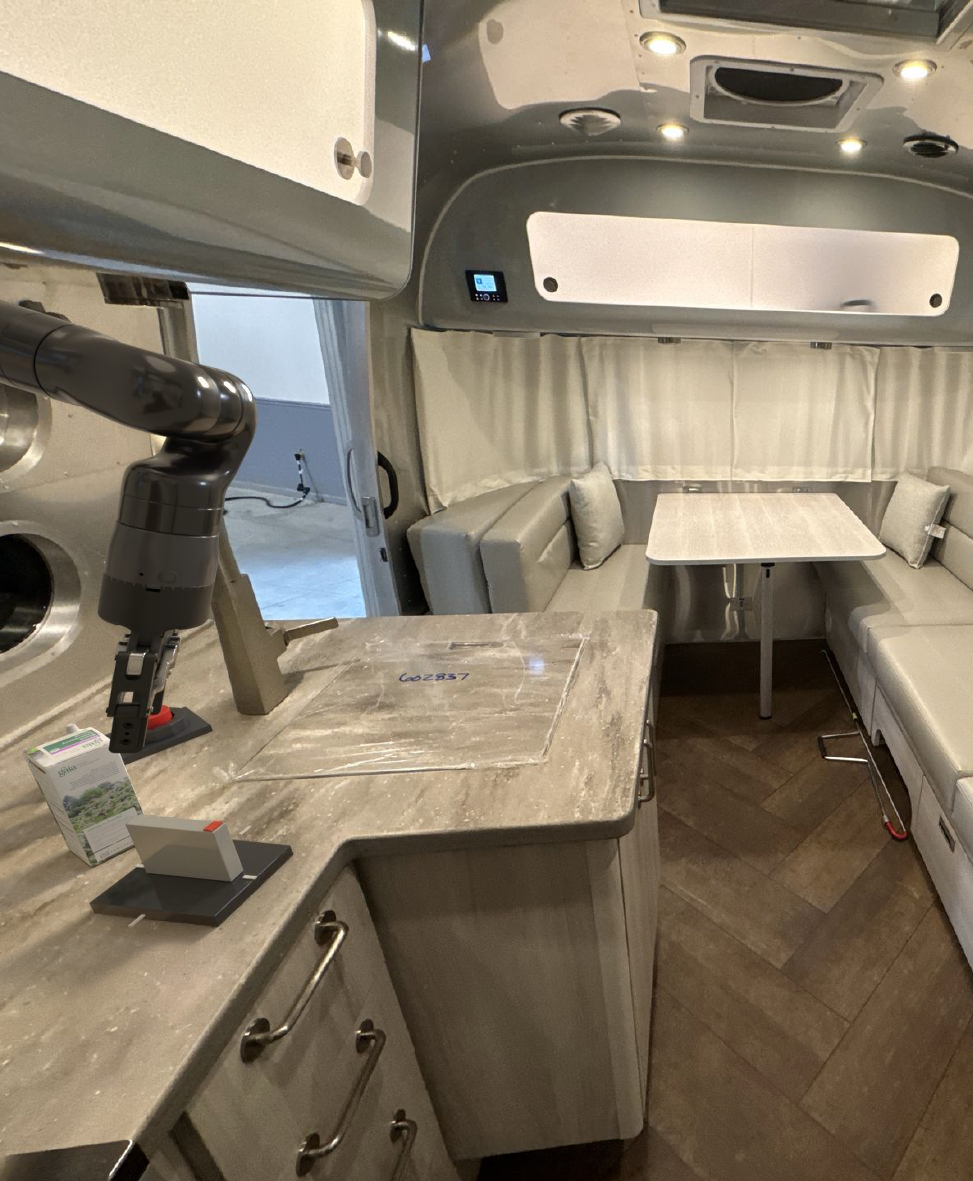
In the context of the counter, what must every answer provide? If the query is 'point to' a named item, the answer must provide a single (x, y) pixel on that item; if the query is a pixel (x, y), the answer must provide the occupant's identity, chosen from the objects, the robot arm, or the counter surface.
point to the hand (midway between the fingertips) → (136, 731)
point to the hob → (192, 889)
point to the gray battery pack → (185, 847)
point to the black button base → (170, 733)
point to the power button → (159, 718)
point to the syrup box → (86, 793)
